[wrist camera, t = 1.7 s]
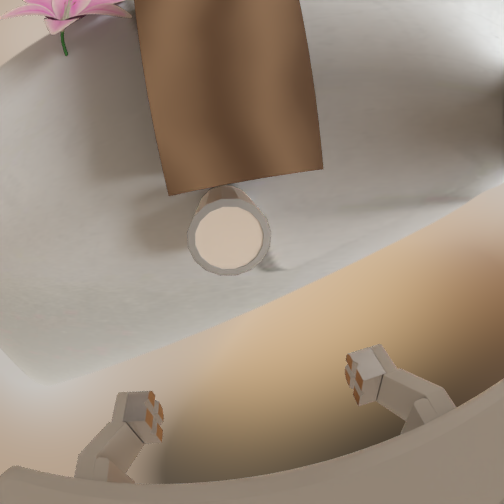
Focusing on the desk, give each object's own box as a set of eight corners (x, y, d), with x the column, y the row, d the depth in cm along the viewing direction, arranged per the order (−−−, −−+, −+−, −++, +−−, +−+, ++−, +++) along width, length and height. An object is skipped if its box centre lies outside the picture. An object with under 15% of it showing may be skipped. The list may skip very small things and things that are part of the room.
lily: (152, 49, 24) (154, -23, 14) (46, 114, 21) (8, 54, 11) (104, -3, 22) (100, -63, 13) (15, 50, 19) (-12, -4, 10)
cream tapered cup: (178, 220, 31) (170, 250, 24) (217, 165, 29) (218, 181, 22) (233, 254, 33) (238, 289, 27) (272, 203, 31) (288, 229, 25)
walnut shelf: (265, -14, 21) (286, -54, 13) (292, 152, 29) (323, 169, 21) (152, 3, 20) (131, -33, 12) (181, 171, 28) (168, 196, 20)
